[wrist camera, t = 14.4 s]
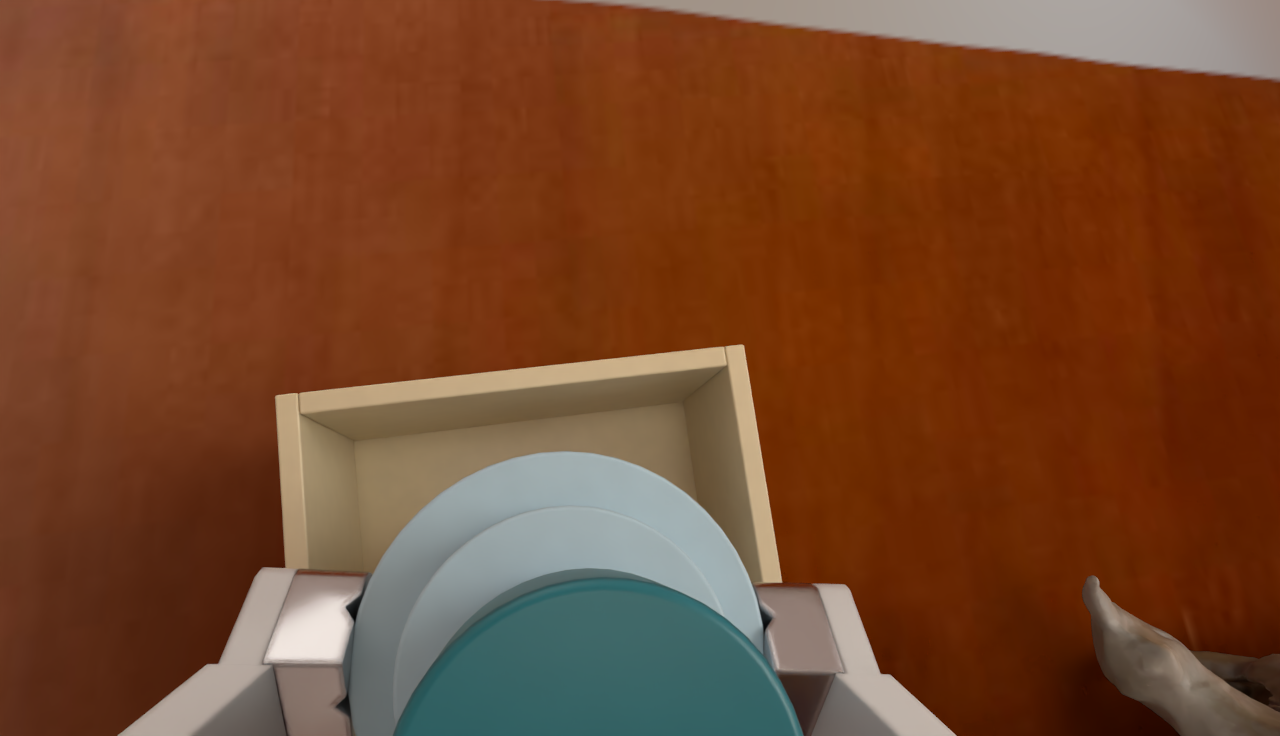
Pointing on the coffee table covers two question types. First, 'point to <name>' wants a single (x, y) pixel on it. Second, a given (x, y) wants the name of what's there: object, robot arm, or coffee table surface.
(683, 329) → the coffee table surface
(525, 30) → the coffee table surface
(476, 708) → the bottle
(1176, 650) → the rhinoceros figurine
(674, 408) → the open box
